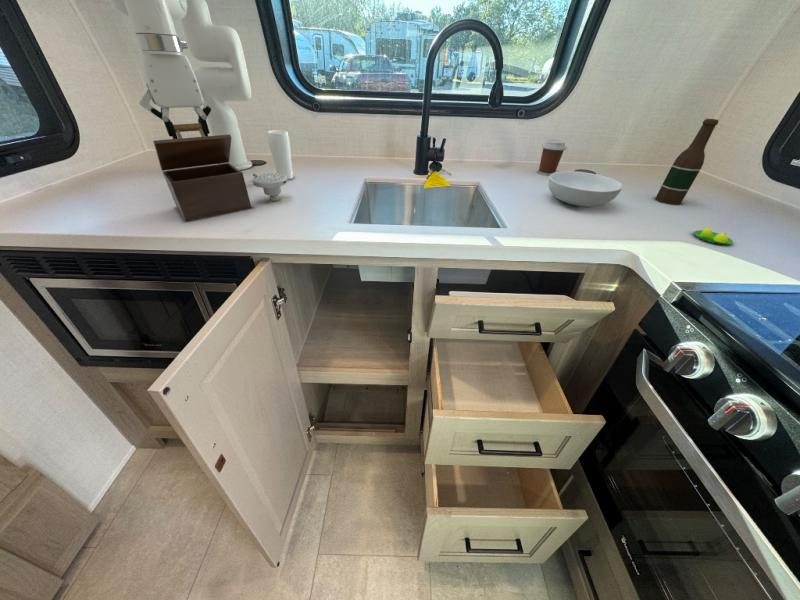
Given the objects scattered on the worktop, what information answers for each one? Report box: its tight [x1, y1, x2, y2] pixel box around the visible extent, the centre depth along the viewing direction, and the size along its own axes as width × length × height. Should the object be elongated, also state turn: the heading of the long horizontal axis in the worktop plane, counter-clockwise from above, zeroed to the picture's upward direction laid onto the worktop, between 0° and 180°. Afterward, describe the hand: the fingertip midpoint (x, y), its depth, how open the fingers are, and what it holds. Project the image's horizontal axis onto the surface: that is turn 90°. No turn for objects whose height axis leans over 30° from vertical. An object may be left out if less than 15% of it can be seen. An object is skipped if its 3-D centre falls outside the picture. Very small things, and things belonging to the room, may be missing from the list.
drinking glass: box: [266, 129, 294, 181], centre depth 109 cm, size 7×7×15 cm
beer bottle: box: [655, 118, 719, 205], centre depth 99 cm, size 8×8×24 cm
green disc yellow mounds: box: [693, 226, 734, 245], centre depth 81 cm, size 8×8×3 cm
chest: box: [161, 163, 253, 222], centre depth 86 cm, size 12×17×10 cm
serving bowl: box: [548, 170, 623, 207], centre depth 100 cm, size 21×21×7 cm
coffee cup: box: [537, 138, 568, 176], centre depth 126 cm, size 9×9×12 cm
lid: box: [152, 122, 231, 171], centre depth 81 cm, size 13×17×5 cm
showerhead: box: [252, 172, 288, 202], centre depth 94 cm, size 9×7×10 cm
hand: (190, 137), depth 78 cm, fingers closed on lid, 6 cm apart
